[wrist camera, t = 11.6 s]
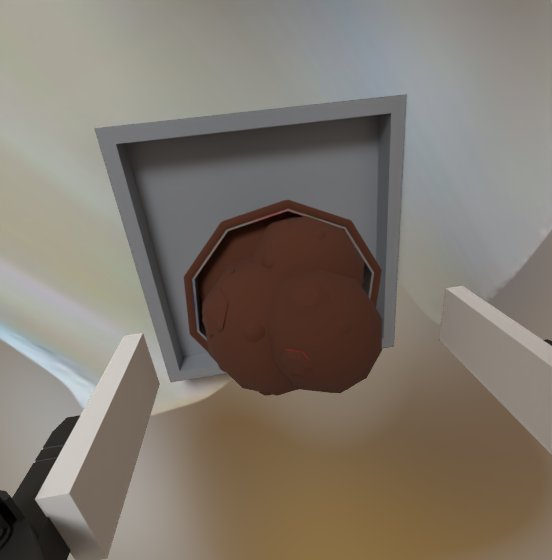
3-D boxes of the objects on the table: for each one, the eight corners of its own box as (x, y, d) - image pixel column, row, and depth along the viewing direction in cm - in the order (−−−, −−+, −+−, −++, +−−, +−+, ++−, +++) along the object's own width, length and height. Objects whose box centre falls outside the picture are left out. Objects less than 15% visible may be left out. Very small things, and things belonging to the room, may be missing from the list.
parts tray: (110, 129, 23) (94, 128, 20) (388, 99, 24) (406, 94, 21) (175, 362, 31) (170, 382, 28) (381, 330, 32) (393, 346, 29)
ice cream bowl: (282, 148, 24) (350, 161, 10) (356, 262, 28) (473, 381, 14) (170, 234, 25) (96, 348, 11) (256, 330, 29) (277, 496, 16)
